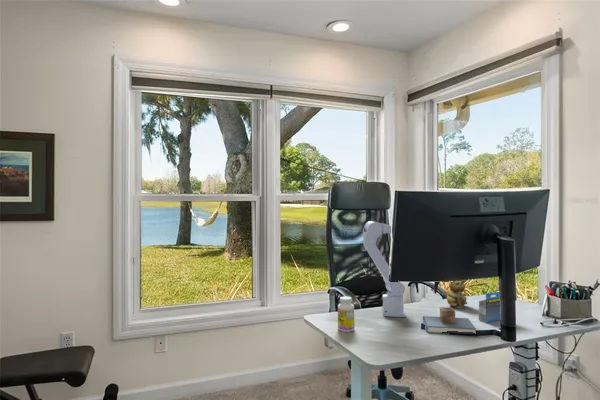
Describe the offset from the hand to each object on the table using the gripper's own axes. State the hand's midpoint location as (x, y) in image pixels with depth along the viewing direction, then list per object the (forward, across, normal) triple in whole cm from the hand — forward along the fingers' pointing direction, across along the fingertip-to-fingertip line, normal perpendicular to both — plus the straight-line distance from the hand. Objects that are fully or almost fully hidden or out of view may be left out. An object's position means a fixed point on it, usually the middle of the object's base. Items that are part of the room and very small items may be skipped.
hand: (426, 292), depth 168 cm
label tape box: (+10, +25, -6) cm, 27 cm away
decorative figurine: (+10, +15, +14) cm, 23 cm away
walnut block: (+7, +6, -18) cm, 21 cm away
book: (+10, +6, -19) cm, 22 cm away
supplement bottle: (+10, -34, -28) cm, 45 cm away
